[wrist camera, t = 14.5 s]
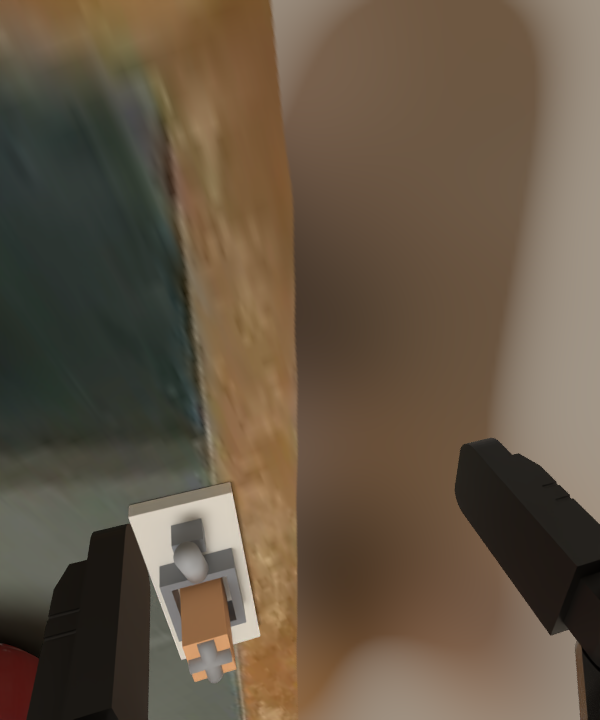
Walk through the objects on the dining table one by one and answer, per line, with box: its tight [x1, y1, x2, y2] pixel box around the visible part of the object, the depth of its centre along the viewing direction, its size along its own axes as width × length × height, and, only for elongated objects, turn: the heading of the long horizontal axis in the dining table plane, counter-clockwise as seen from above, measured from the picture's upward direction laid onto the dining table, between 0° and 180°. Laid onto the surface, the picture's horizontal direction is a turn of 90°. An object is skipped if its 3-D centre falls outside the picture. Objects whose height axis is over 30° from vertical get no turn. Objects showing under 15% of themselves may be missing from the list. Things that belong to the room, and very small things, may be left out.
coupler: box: [180, 577, 236, 683], centre depth 49 cm, size 6×4×9 cm, turn 4°
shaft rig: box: [128, 482, 260, 660], centre depth 50 cm, size 10×26×7 cm, turn 4°
